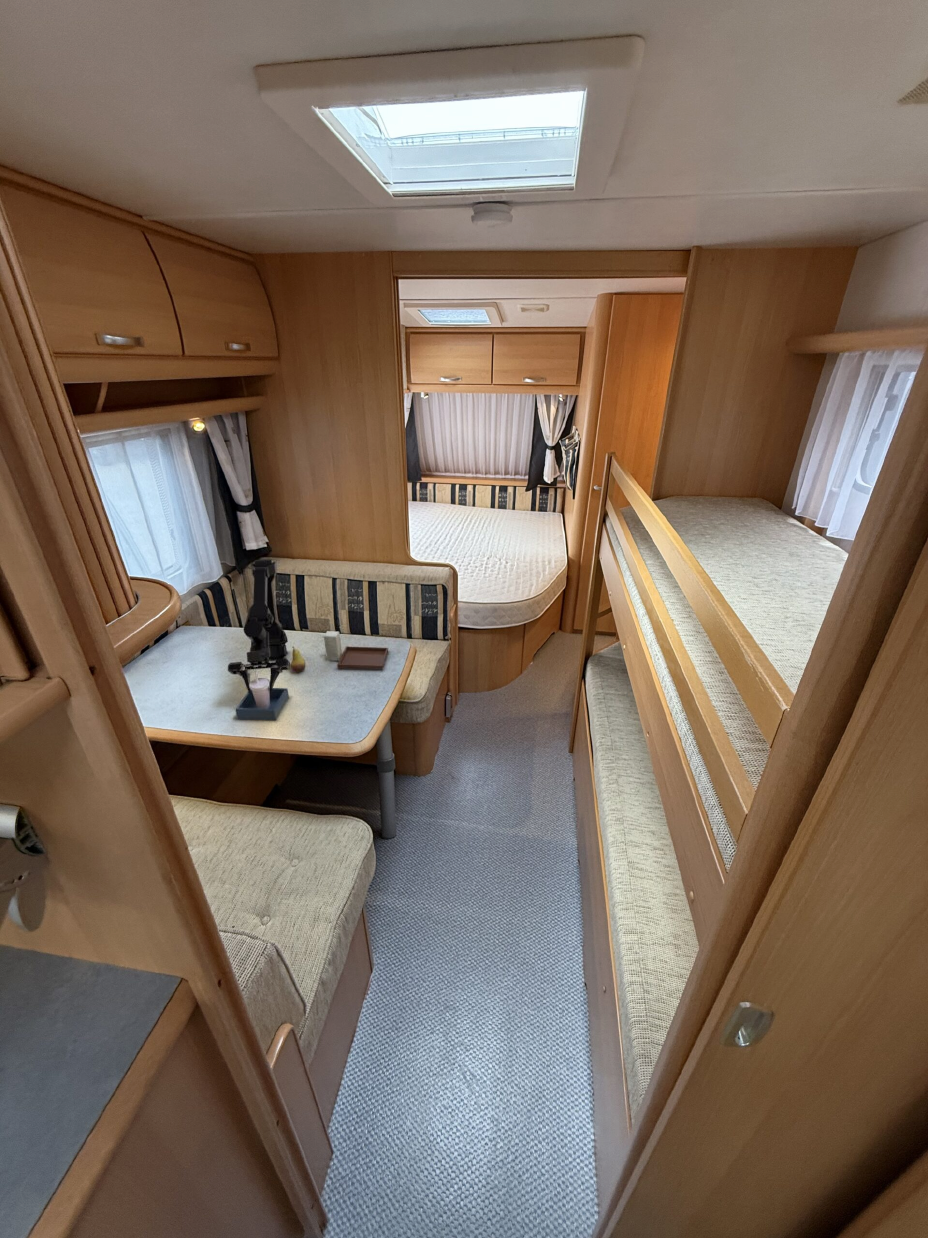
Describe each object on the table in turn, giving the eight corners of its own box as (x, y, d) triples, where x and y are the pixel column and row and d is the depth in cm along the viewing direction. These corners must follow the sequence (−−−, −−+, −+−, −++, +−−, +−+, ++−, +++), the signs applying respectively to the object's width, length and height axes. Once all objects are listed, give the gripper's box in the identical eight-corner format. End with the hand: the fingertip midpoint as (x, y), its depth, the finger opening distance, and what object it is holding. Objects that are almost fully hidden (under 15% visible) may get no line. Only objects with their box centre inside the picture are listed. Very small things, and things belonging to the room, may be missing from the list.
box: (342, 655, 198) (340, 631, 193) (339, 661, 194) (336, 636, 189) (329, 655, 198) (327, 630, 193) (326, 660, 194) (323, 635, 190)
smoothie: (256, 701, 168) (250, 666, 162) (276, 701, 169) (270, 666, 162) (251, 713, 162) (244, 677, 156) (271, 712, 163) (264, 676, 157)
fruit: (309, 669, 188) (306, 642, 183) (297, 676, 184) (293, 648, 178) (300, 665, 191) (296, 637, 185) (287, 671, 187) (283, 643, 181)
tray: (337, 669, 189) (337, 664, 188) (346, 650, 202) (346, 646, 201) (382, 670, 189) (382, 665, 188) (388, 652, 201) (388, 647, 200)
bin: (237, 719, 160) (235, 709, 158) (253, 696, 171) (251, 687, 170) (275, 720, 160) (274, 710, 158) (289, 697, 171) (287, 688, 170)
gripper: (223, 641, 157) (222, 689, 152) (284, 637, 160) (285, 684, 155) (232, 650, 167) (232, 696, 162) (290, 646, 171) (291, 690, 166)
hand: (259, 691), depth 161 cm, fingers closed on smoothie, 6 cm apart
